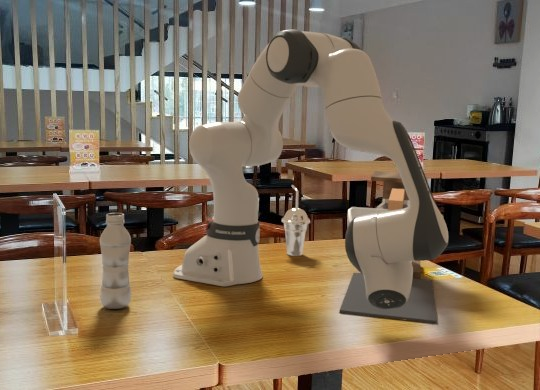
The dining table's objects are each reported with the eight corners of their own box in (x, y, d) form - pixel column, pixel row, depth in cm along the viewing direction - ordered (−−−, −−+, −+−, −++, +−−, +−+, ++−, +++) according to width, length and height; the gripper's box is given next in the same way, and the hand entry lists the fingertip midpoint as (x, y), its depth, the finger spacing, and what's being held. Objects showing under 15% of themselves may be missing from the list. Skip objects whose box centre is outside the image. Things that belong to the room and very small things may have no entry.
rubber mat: (339, 312, 126) (339, 310, 125) (353, 274, 154) (353, 272, 154) (436, 323, 121) (436, 320, 121) (432, 282, 150) (432, 280, 150)
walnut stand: (365, 274, 155) (371, 176, 151) (369, 261, 168) (374, 171, 164) (420, 280, 151) (427, 180, 147) (419, 266, 165) (426, 174, 161)
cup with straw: (277, 256, 171) (279, 188, 168) (283, 249, 179) (285, 184, 176) (306, 258, 169) (309, 190, 166) (311, 251, 178) (314, 185, 175)
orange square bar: (387, 213, 127) (388, 200, 126) (391, 200, 146) (392, 188, 145) (402, 214, 126) (402, 201, 125) (403, 201, 145) (404, 189, 145)
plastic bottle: (100, 313, 121) (98, 218, 117) (100, 302, 127) (99, 211, 124) (132, 311, 122) (131, 217, 119) (130, 301, 129) (130, 211, 126)
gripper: (446, 236, 116) (445, 193, 127) (342, 228, 121) (350, 187, 131) (443, 259, 120) (443, 215, 130) (343, 250, 125) (351, 209, 135)
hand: (396, 201), depth 131 cm, fingers closed on orange square bar, 3 cm apart
